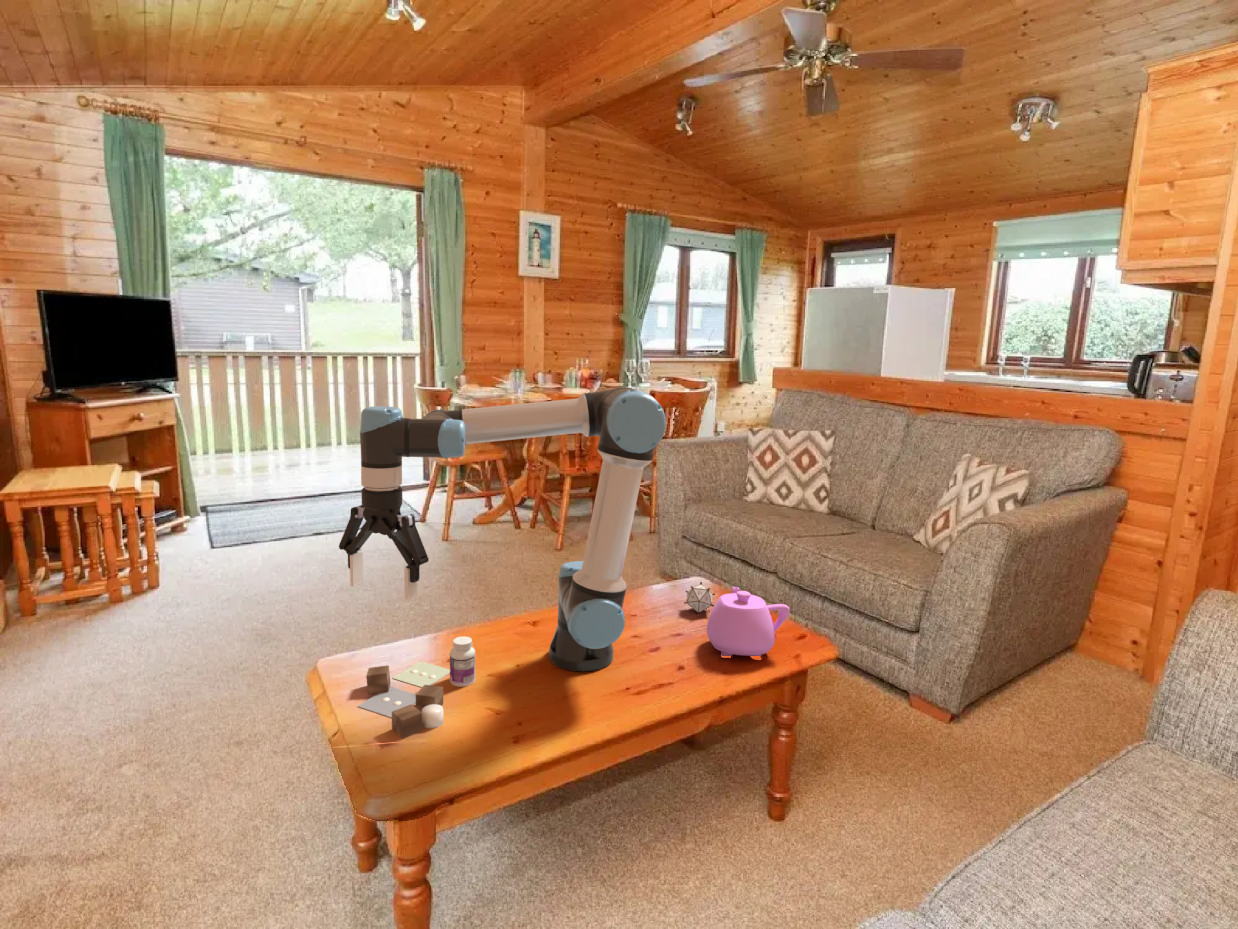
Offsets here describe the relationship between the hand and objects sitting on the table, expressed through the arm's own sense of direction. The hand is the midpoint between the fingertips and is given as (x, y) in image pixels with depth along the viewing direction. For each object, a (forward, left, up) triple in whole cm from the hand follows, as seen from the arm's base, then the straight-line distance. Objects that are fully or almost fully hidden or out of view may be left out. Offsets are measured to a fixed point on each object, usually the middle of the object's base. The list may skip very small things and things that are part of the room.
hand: (383, 590), depth 137 cm
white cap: (-15, +3, -23) cm, 28 cm away
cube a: (-11, -1, -23) cm, 25 cm away
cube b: (-11, +7, -21) cm, 24 cm away
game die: (-43, -77, -23) cm, 91 cm away
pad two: (-3, +1, -23) cm, 23 cm away
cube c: (+3, -2, -23) cm, 23 cm away
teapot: (-60, -61, -23) cm, 88 cm away
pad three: (-1, -11, -23) cm, 25 cm away
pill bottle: (-10, -13, -23) cm, 28 cm away
